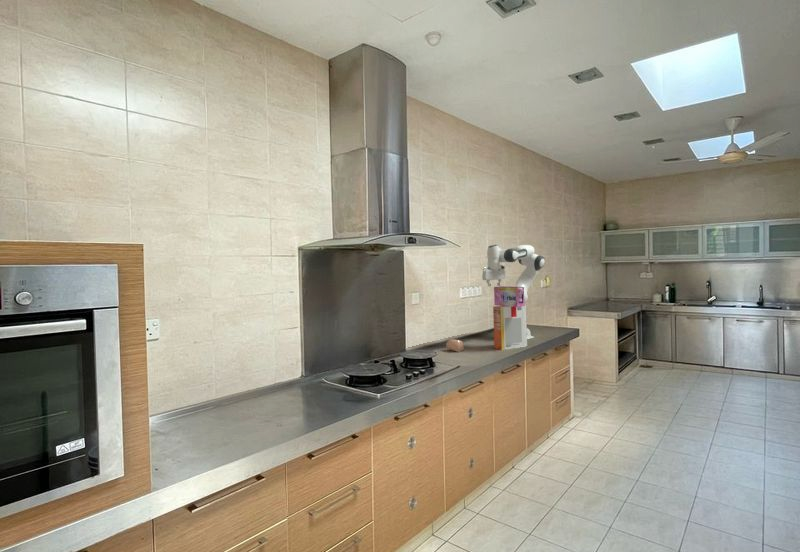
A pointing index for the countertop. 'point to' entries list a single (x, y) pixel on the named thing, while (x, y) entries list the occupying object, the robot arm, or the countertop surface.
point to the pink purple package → (509, 296)
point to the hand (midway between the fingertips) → (494, 285)
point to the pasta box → (509, 327)
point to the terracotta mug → (454, 345)
